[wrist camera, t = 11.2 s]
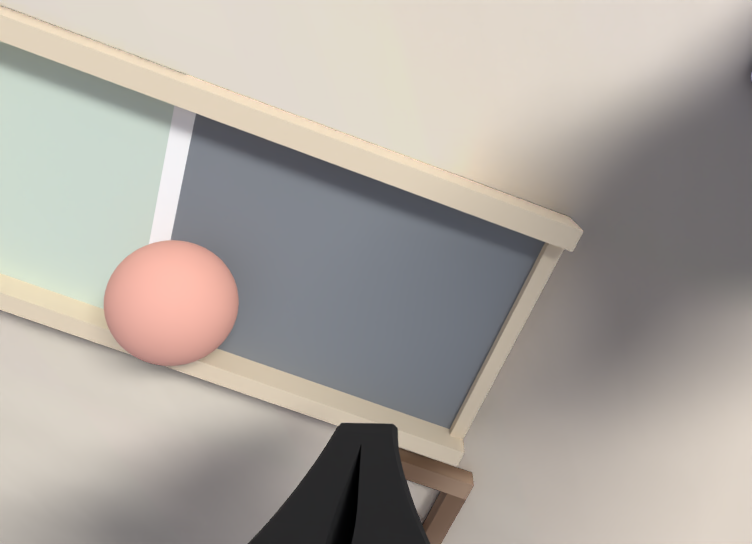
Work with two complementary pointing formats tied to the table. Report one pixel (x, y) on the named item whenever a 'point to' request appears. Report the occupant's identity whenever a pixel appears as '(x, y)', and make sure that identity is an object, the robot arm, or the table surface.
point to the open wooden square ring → (444, 479)
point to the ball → (171, 303)
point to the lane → (264, 236)
